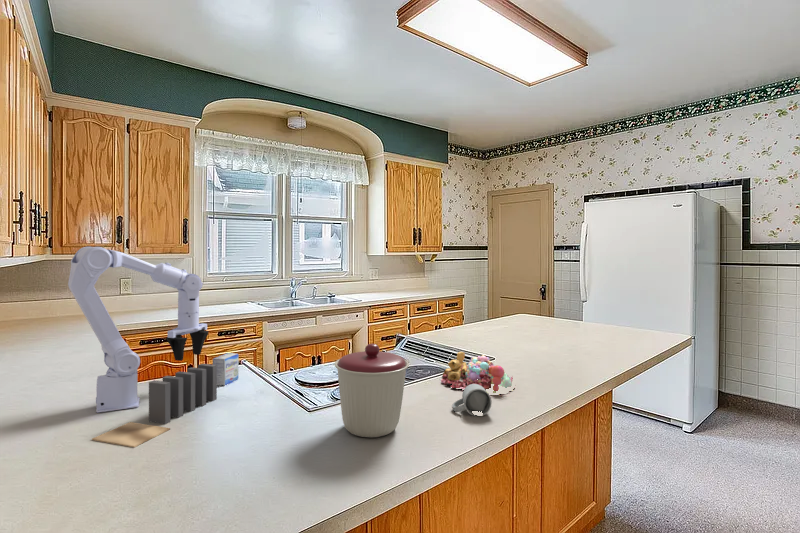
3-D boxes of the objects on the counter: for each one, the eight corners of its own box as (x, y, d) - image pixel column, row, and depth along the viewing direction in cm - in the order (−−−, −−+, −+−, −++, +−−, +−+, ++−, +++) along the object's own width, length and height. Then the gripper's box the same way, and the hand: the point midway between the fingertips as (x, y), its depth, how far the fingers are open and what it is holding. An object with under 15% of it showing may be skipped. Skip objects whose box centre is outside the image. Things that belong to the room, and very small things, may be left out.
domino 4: (202, 406, 119) (202, 370, 119) (187, 404, 121) (187, 368, 120) (206, 404, 121) (206, 368, 120) (191, 402, 122) (191, 367, 122)
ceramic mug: (485, 406, 124) (485, 380, 123) (491, 416, 116) (492, 389, 116) (450, 406, 124) (450, 380, 123) (453, 416, 116) (453, 389, 116)
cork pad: (134, 447, 94) (134, 446, 94) (91, 440, 97) (91, 438, 97) (170, 429, 104) (170, 428, 104) (130, 423, 107) (130, 422, 107)
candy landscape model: (432, 388, 140) (432, 360, 140) (451, 370, 162) (451, 345, 161) (511, 399, 131) (511, 369, 130) (520, 379, 152) (520, 353, 152)
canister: (380, 453, 94) (382, 356, 93) (318, 433, 103) (319, 345, 103) (420, 425, 109) (422, 342, 108) (363, 410, 119) (364, 333, 118)
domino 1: (165, 424, 107) (165, 384, 106) (148, 421, 108) (148, 382, 108) (170, 421, 108) (170, 382, 108) (154, 419, 110) (154, 380, 109)
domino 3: (190, 411, 115) (191, 374, 115) (175, 409, 116) (175, 372, 116) (195, 409, 117) (195, 373, 116) (179, 407, 118) (179, 371, 118)
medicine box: (224, 386, 137) (224, 359, 137) (212, 385, 138) (212, 358, 138) (238, 379, 145) (239, 353, 144) (226, 378, 146) (227, 352, 145)
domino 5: (212, 401, 123) (212, 366, 123) (198, 399, 125) (198, 364, 124) (216, 399, 125) (216, 365, 125) (202, 397, 126) (202, 363, 126)
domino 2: (178, 417, 111) (178, 379, 111) (162, 415, 112) (162, 377, 112) (183, 415, 113) (183, 377, 112) (167, 413, 114) (167, 375, 113)
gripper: (182, 316, 123) (181, 364, 124) (215, 310, 137) (215, 352, 138) (161, 315, 125) (161, 362, 125) (196, 309, 139) (196, 351, 139)
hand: (188, 357), depth 132 cm, fingers open, 7 cm apart
